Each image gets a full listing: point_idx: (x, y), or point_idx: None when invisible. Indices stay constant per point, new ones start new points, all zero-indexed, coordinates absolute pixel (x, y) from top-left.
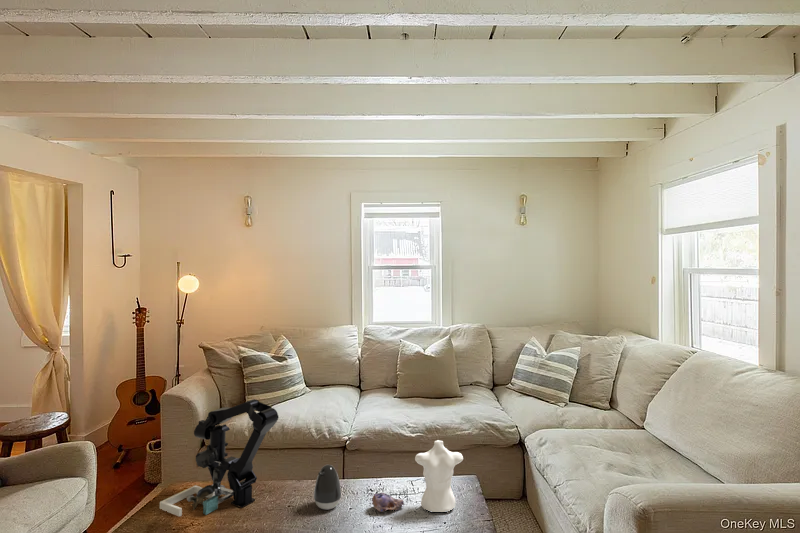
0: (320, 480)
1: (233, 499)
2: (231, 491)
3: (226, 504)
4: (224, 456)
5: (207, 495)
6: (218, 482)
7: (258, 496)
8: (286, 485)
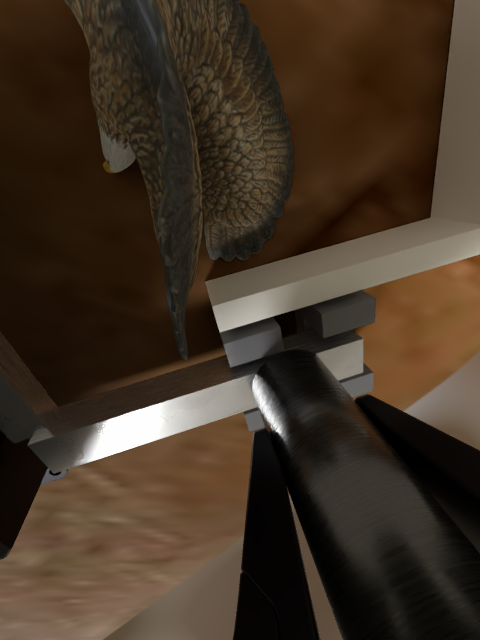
0: None
1: None
2: (60, 452)
3: None
4: None
5: (153, 220)
6: (261, 430)
7: None
8: (66, 623)
